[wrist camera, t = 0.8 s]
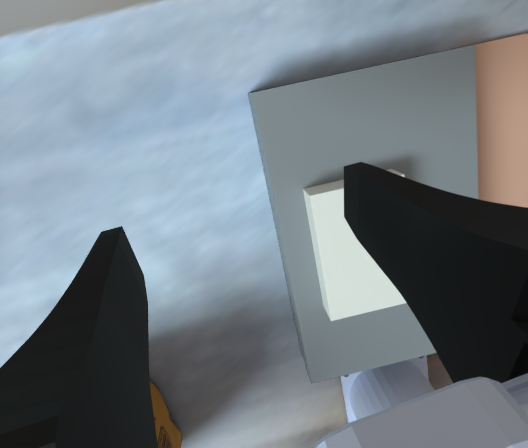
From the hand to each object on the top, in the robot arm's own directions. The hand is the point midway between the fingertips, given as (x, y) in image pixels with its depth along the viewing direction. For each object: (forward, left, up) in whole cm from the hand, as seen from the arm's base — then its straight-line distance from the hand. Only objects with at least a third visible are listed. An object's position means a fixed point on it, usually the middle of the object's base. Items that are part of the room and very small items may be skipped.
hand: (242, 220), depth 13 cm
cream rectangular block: (-7, -7, -13) cm, 16 cm away
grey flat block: (-7, -9, -17) cm, 21 cm away
